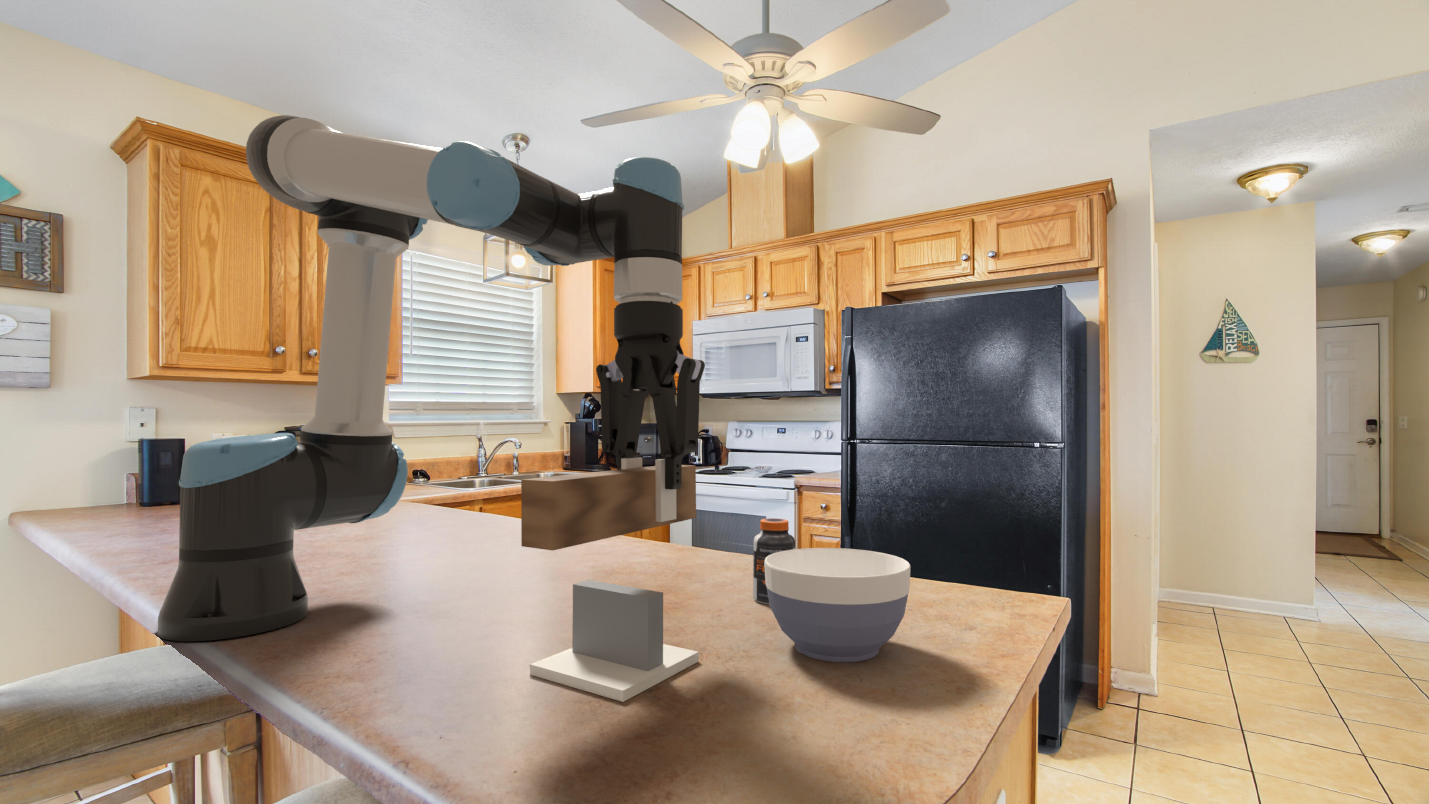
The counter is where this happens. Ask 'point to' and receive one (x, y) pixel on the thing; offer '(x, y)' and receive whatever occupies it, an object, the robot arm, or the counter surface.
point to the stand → (615, 643)
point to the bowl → (837, 600)
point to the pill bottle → (768, 552)
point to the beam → (596, 506)
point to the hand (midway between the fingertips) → (648, 518)
